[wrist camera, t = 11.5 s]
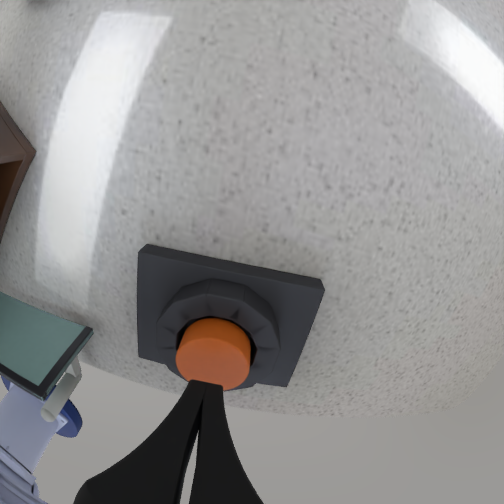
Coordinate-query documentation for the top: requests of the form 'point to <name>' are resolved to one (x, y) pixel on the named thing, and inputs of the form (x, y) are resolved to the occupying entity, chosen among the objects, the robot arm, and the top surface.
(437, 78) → the top surface
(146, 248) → the switch block
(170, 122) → the top surface
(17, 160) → the cabinet
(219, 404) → the robot arm
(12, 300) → the glass door
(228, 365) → the light button
